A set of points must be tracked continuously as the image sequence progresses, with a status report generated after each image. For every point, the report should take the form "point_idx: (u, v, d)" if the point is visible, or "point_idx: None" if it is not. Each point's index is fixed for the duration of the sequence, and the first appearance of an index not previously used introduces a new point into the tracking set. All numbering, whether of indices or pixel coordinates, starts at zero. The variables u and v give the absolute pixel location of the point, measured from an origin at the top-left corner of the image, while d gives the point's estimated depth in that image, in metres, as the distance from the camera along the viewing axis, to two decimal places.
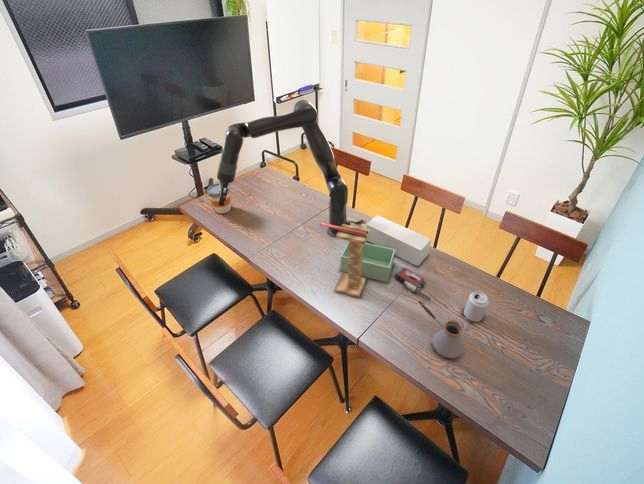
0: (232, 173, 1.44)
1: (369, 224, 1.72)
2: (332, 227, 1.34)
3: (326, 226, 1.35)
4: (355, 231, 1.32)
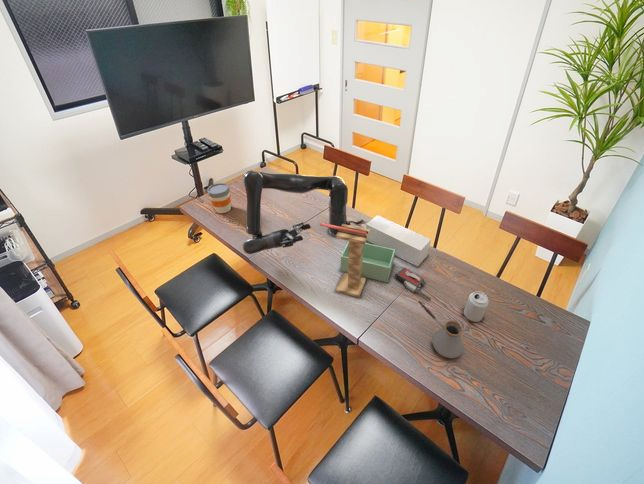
0: (272, 239, 1.47)
1: (369, 224, 1.72)
2: (332, 227, 1.34)
3: (326, 226, 1.35)
4: (355, 231, 1.32)
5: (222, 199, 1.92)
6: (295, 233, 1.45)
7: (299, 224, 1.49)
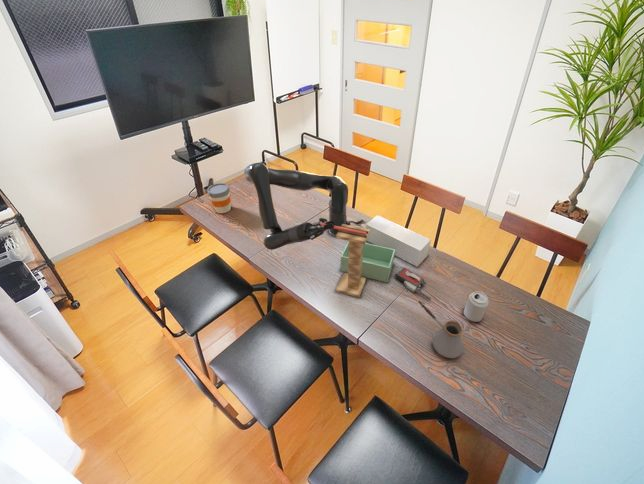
0: (295, 233, 1.40)
1: (369, 224, 1.72)
2: None
3: None
4: (355, 231, 1.32)
5: (222, 199, 1.92)
6: None
7: (323, 220, 1.39)
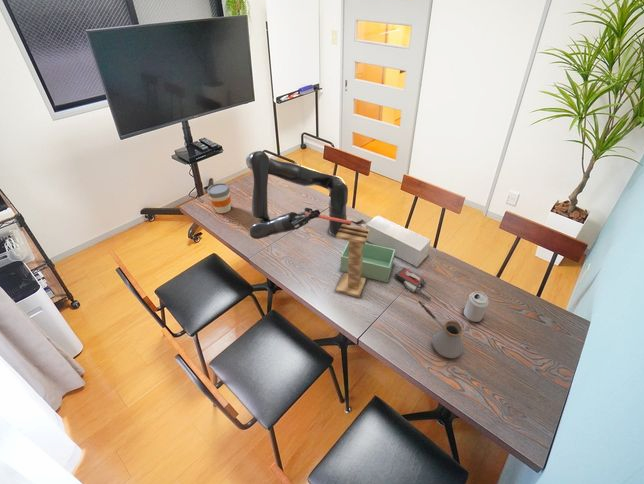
0: (280, 223, 1.39)
1: (369, 224, 1.72)
2: None
3: None
4: (340, 220, 1.31)
5: (222, 199, 1.92)
6: None
7: (308, 209, 1.39)
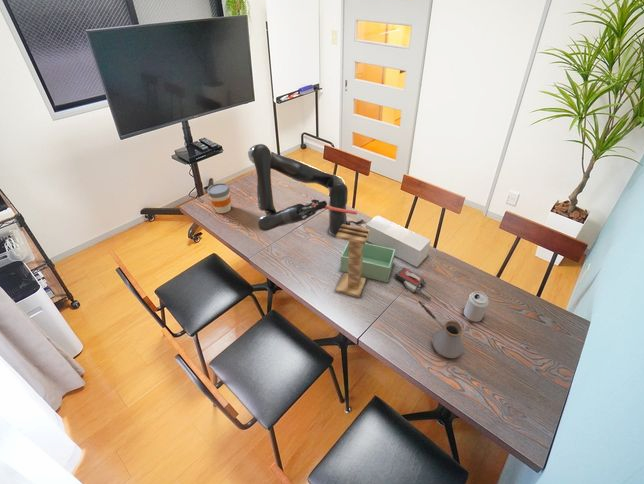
0: (288, 214, 1.42)
1: (369, 224, 1.72)
2: None
3: None
4: (346, 211, 1.34)
5: (222, 199, 1.92)
6: None
7: (315, 201, 1.42)
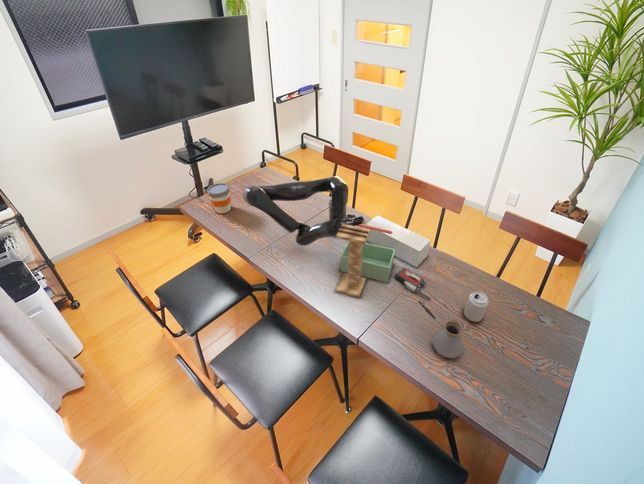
0: (325, 228, 1.52)
1: (369, 224, 1.72)
2: (360, 226, 1.47)
3: None
4: (382, 230, 1.45)
5: (222, 199, 1.92)
6: (348, 222, 1.50)
7: (351, 216, 1.51)
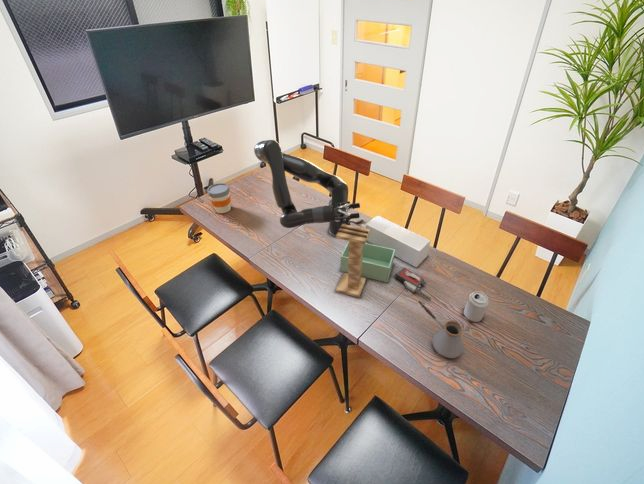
0: (321, 214, 1.44)
1: (369, 224, 1.72)
2: None
3: None
4: None
5: (222, 199, 1.92)
6: (345, 210, 1.47)
7: (346, 202, 1.51)
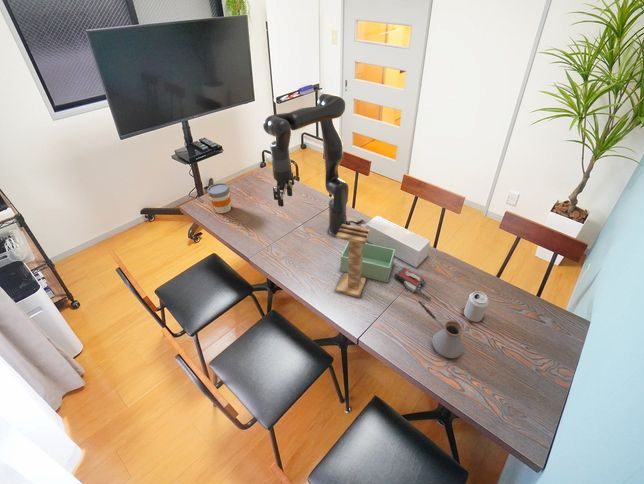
0: (282, 170, 1.28)
1: (369, 224, 1.72)
2: None
3: None
4: None
5: (222, 199, 1.92)
6: None
7: (293, 182, 1.41)
